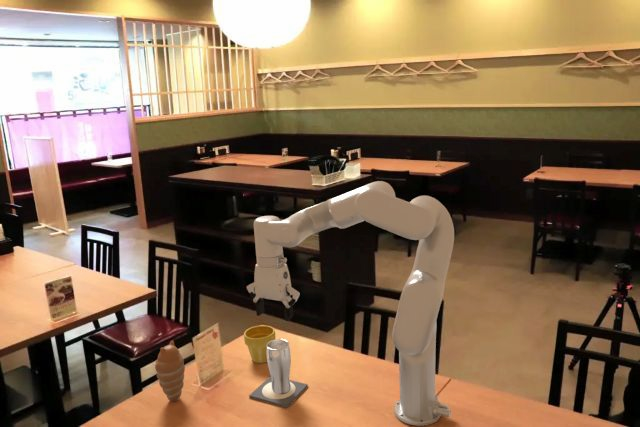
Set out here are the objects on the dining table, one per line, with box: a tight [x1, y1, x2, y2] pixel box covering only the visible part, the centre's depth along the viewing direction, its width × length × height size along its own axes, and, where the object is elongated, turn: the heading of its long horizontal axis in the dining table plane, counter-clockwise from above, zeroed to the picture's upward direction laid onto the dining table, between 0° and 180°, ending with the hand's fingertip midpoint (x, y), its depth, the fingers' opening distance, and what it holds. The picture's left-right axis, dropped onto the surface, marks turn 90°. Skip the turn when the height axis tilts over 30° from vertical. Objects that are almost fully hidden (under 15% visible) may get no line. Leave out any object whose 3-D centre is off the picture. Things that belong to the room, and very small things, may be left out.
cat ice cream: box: [154, 340, 186, 402], centre depth 154 cm, size 9×8×18 cm
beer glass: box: [266, 338, 292, 396], centre depth 155 cm, size 7×7×15 cm
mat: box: [248, 375, 309, 409], centre depth 157 cm, size 13×12×1 cm
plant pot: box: [243, 324, 276, 364], centre depth 177 cm, size 10×10×10 cm
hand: (274, 316), depth 152 cm, fingers open, 9 cm apart
